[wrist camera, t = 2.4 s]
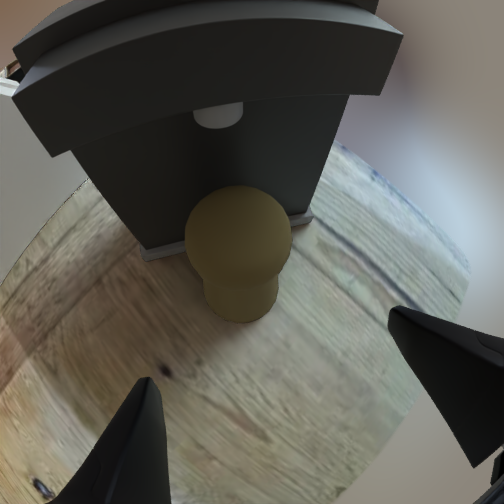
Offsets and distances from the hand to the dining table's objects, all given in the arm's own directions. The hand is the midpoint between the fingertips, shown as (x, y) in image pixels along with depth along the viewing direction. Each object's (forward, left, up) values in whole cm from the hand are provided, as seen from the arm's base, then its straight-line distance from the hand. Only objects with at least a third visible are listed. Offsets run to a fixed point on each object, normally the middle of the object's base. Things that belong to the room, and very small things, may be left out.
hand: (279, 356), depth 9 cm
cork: (+5, -3, -12) cm, 13 cm away
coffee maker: (+10, -7, -12) cm, 17 cm away
